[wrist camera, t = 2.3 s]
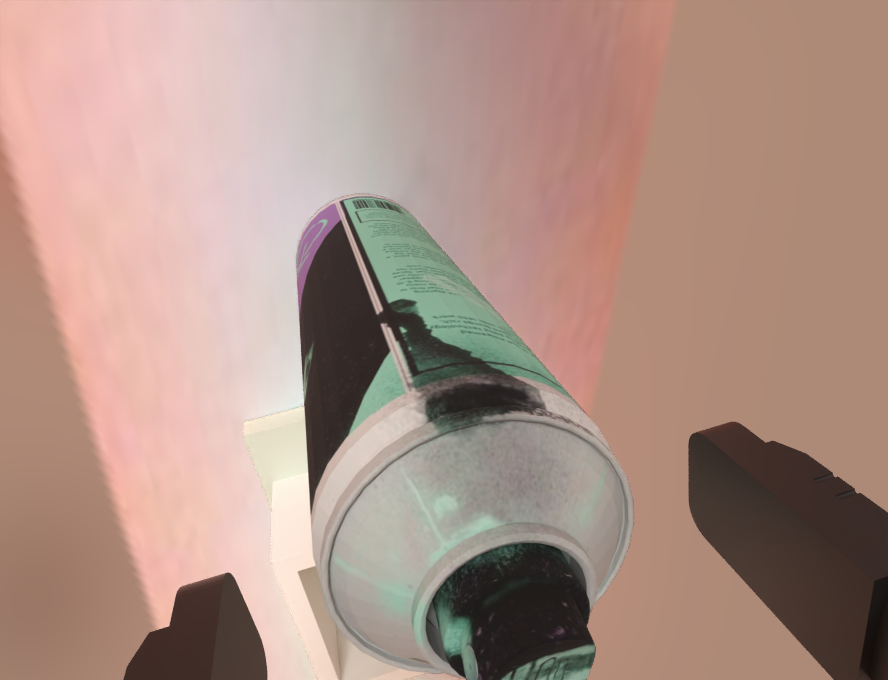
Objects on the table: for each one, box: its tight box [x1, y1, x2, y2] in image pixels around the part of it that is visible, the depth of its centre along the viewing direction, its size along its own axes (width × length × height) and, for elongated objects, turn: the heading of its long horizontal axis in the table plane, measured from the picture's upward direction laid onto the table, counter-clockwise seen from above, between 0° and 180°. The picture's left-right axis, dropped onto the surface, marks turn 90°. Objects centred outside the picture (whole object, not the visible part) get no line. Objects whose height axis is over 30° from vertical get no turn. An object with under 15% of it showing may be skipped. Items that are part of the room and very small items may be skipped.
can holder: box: [243, 406, 425, 680], centre depth 28 cm, size 14×10×6 cm
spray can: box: [296, 194, 634, 680], centre depth 17 cm, size 6×6×20 cm
